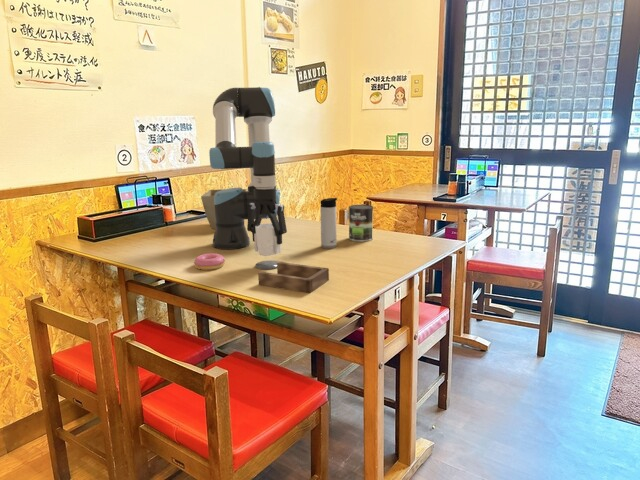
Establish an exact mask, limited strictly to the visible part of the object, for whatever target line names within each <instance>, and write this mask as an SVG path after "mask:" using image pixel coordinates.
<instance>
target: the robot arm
mask: <svg viewBox="0 0 640 480" xmlns="http://www.w3.org/2000/svg"><path fill="white" fill-rule="evenodd" d="M212 106H213V107H212V115H213V117H214V120H215V122H214V123H215V128H214V129H215V139H214V140H215V147H210V148H209V150H208V151H209V152H208V153H209V155H208V156H209V166H210V167H211V169H214V170H229V169H230V170H231V169H250V183H249V184H248V186H247V189H248V191H243V189H244V188H242V187H231V188H226V189H224V190H221V191H218V192H216V193H215V195H214V205H215V219H216V229H214V230H215V231H214V234H213V239H212V247H214V248H216V249H218V250H219V249H220V250H236V249H241V248H245V247H248V246H249V245H250V237H249V235H248V232H251V233H252V242H254V252H256V253H258V247H257V240H256V230H255V226H259V225H260V224H262V223H261V222H262V220H263V219H265V220H267V219H269V220H270V222H271V223H270V224H272V225H273V227H274V230H275V233H276V235H275V236H274V247H275V255H278V254H280V253H281V251H282V249H281V244H283V235H285V234H286V233H287V232H288V229H287V225H286V217H285V212H284V211H285V205H284V204H280V200H281V199H280V198H281V197H280V196H281V195H280V194H281V190H280V189H277V185H276V184H277V182H276V165H275V164H276V159H275V158H276V157H275V154H276V151H275V145H274V142H272V141H270V125H269V124H270V123H272V121H273V117H275V116H276V109H275V100H274V96H273V92H272V90H271V88H269V87H260V86H258V87H230V88H228V89H225V90H224V91H221V93H220V94H219V95H218V96H217V98H215V100H214V102H213V105H212ZM238 117H239V118H243V122H244V123H245V124H246V125H247V129H248V130H247V131H248V134H247V135H248V146H237V133H236V132H237V131H236V118H238ZM245 220H247V224H246V225H247V229H246V226H245Z"/></svg>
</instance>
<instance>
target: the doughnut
mask: <svg viewBox="0 0 640 480" xmlns="http://www.w3.org/2000/svg"><path fill="white" fill-rule="evenodd" d="M225 262H226V258H225V257H224V256H223V255H222V254H219V253H214V252H213V253H211V252H210V253H203V254H200V255H197V256H196V257H195V258H194V261H193V264H194V267H195V268H197V269H198V270H200V269H201V271H212V270H213V269H214V270H217V269H220V268H222V267H223V266H224V265H225Z"/></svg>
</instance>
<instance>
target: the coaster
mask: <svg viewBox="0 0 640 480" xmlns="http://www.w3.org/2000/svg"><path fill="white" fill-rule="evenodd" d="M278 262H279V261H278V260H262V261H259V262H257V263H255V268H256V269H257V270H258V269H259V270H265V271H266V270H268V271H269V270H276V269H277V263H278Z"/></svg>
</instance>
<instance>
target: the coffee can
mask: <svg viewBox="0 0 640 480" xmlns="http://www.w3.org/2000/svg"><path fill="white" fill-rule="evenodd" d="M373 214H374V206H373V205H369V204H352V205H349V206H348V240H350V241H351V242H356V243H357V242H358V243H363V242H364V243H365V242H370V241H372V240H373V231H374V230H373V229H374V228H373V227H374V225H373V223H374V221H373V220H374V219H373V218H374V215H373Z"/></svg>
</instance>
